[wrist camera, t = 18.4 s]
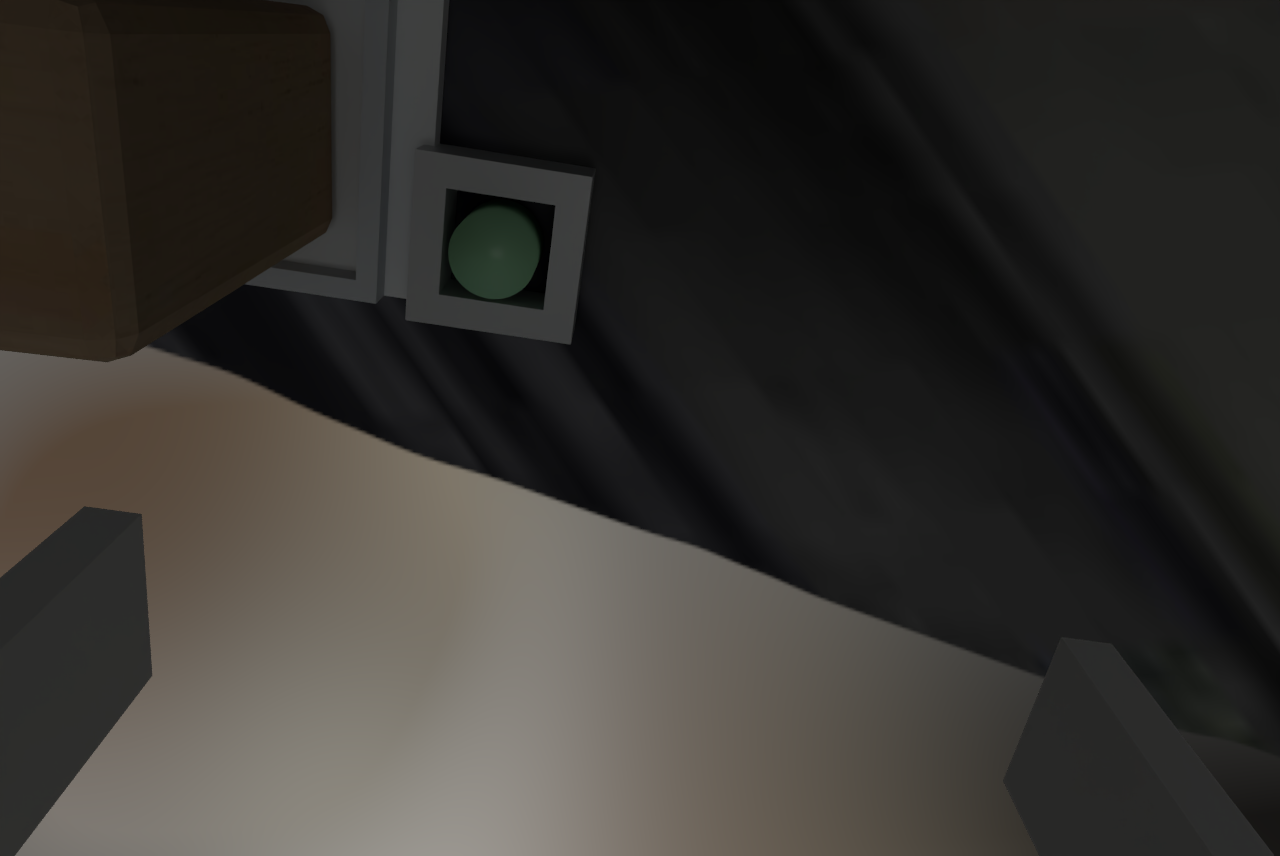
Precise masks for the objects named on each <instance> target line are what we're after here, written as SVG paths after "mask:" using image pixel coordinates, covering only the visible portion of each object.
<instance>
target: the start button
mask: <svg viewBox="0 0 1280 856" xmlns="http://www.w3.org/2000/svg"><path fill="white" fill-rule="evenodd" d="M543 247H544V239H543V233H542V229H541V226H540V224H539V222H538V221H537V219H536V218H535V216H534V215H533V214H532V213H531V212H530V211H529V210H528V209H527V208H525V207H524V206H523V205H521V204H519V203H517V202H514V201H510V200H505V199H495V200H490V201H487V202H484V203H482V204H480V205H479V206H477V207H476V208H475V209H474V210H473V211H472V212H471V213H470V214H469V215H468V216H467V217H466V218H465V219H464V220H463V221H462V222H461V223H460V224H459V225H458V227H457V228H456V229H455V231H454V232H453V234H452V237H451V239H450V243H449V248H448V257H449V263H450V267H451V269H452V272H453V274H454V275H455V277H456V279H457V280H458V281H459V283H460V284H461V285H462V286H463V287H464V288H466V289H467V290H468V291H470V292H471V293H473V294H475V295H477V296H480V297H483V298H487V299H503V298H507V297H510V296H512V295H515V294H516V293H518V292H519V291H521V290H522V289H523V288H524V287H525V286H526V285H527V284H528V283H529V281H530V280H531V278H532V276H533V274H534V271H535V269H536V267H537V265H538V263H539V260H540V258H541V256H542V252H543Z"/></svg>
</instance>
